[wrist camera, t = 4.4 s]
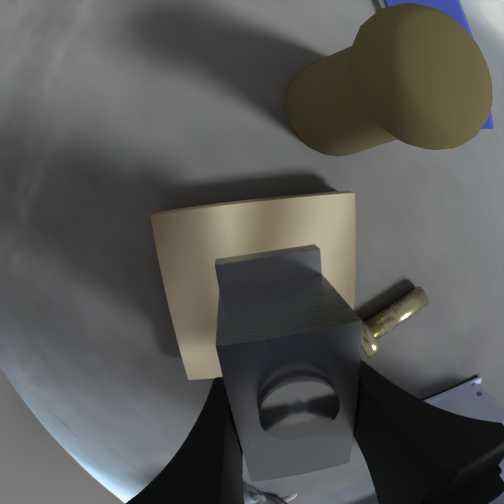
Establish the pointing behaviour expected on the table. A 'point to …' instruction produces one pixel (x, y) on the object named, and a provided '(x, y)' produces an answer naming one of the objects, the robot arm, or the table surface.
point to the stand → (241, 243)
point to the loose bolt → (391, 319)
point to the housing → (287, 361)
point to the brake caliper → (262, 497)
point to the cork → (394, 86)
